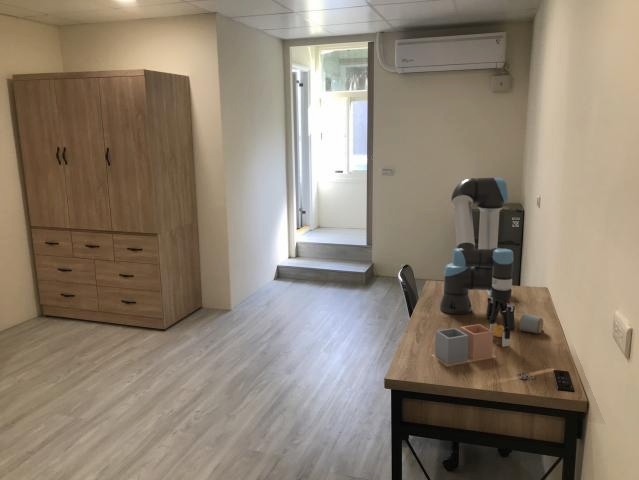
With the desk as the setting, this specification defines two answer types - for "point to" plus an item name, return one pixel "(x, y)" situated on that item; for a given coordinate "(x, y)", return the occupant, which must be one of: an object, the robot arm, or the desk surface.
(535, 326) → the ceramic mug
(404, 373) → the desk surface
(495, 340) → the stand
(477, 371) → the desk surface
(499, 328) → the ball
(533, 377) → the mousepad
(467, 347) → the double square tube
